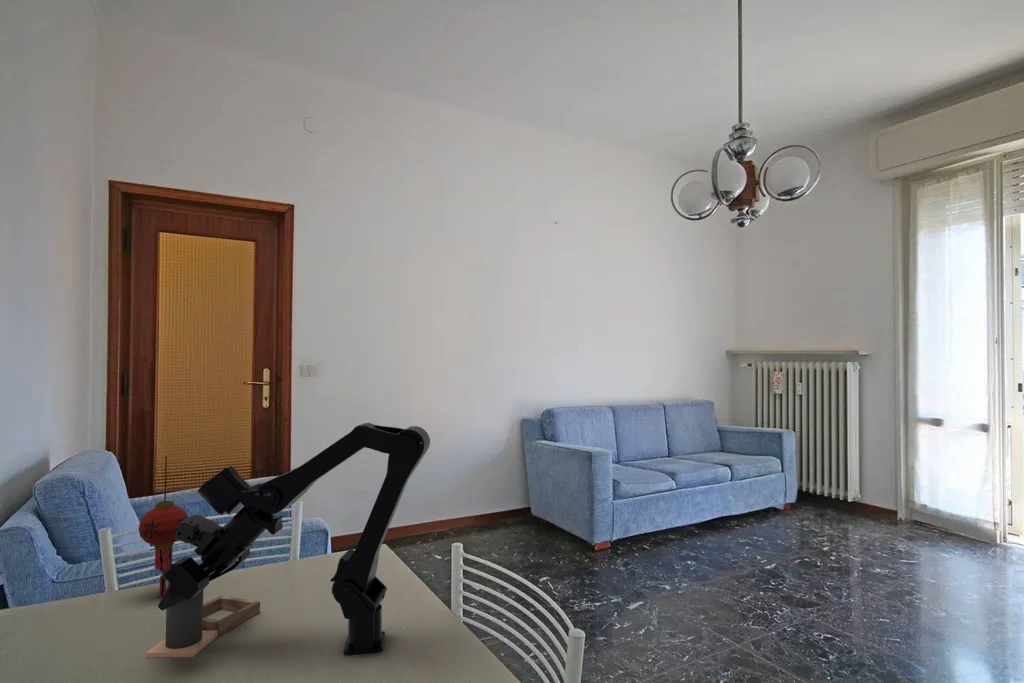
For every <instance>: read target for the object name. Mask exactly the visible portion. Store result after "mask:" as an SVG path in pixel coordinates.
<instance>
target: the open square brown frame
mask: <svg viewBox="0 0 1024 683" xmlns="http://www.w3.org/2000/svg"><path fill="white" fill-rule="evenodd" d="M220 610H224V611H231V612H232V613H231V614H229V615H227V616H225V617H223V618H221V619H215V618H210V617H209V616H210V615H212V614H214V613H216V612H218V611H220ZM258 614H261V601H259V600H254V599H253V600H252V599H245V598H241V597H234V596H233V597H231V596H225V595H220V596H217V597H216V598H213V599H211V600H208V601H207V602H203V627H202V630H216V631H218V636H221V635H222V634H224V633H227V632H229V631H230V630H232V629H233V628H235V627H237V626H239V625H241V624H242V623H244V622H246V621H248V620H250V619H251V618H253V617H255V616H257V615H258Z"/></svg>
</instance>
